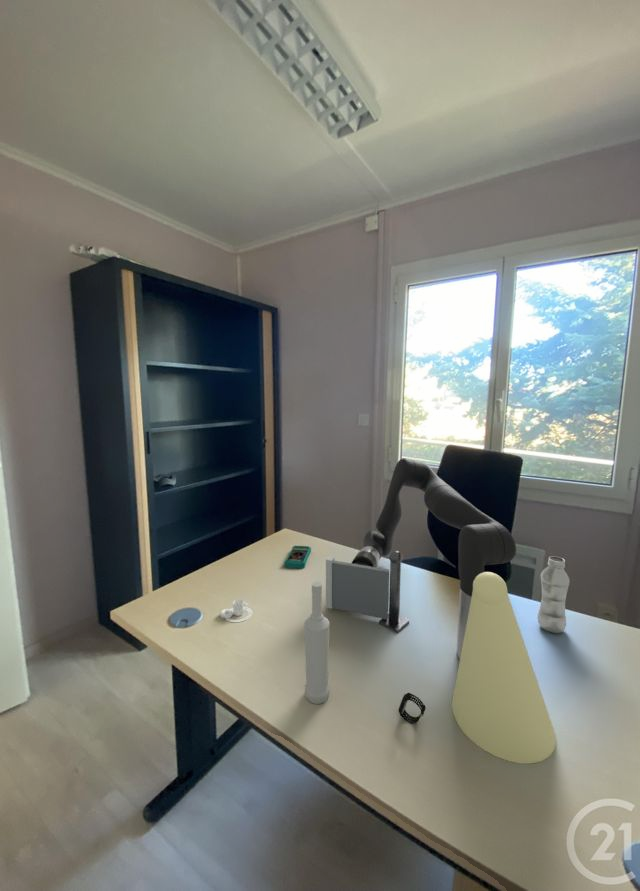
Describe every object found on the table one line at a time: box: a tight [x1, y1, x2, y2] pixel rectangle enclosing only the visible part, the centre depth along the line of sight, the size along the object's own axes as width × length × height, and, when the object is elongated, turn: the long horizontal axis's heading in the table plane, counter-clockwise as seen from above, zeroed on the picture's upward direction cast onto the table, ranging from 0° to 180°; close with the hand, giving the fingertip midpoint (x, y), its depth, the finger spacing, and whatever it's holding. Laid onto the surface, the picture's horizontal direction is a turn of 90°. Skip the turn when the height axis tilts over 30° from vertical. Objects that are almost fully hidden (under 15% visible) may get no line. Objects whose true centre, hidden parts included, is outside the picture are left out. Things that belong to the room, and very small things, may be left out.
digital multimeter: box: [284, 545, 312, 569], centre depth 143 cm, size 8×15×3 cm, turn 172°
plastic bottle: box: [537, 555, 571, 634], centre depth 99 cm, size 6×7×20 cm
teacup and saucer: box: [219, 599, 253, 623], centre depth 107 cm, size 9×8×4 cm
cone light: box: [451, 571, 557, 765], centre depth 68 cm, size 25×18×35 cm
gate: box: [325, 556, 390, 619], centre depth 105 cm, size 18×2×15 cm, turn 69°
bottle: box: [304, 581, 330, 705], centre depth 77 cm, size 5×5×25 cm
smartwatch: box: [398, 692, 426, 725], centre depth 72 cm, size 4×5×5 cm
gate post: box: [378, 549, 410, 634], centre depth 101 cm, size 6×6×21 cm
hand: (350, 586), depth 107 cm, fingers closed
